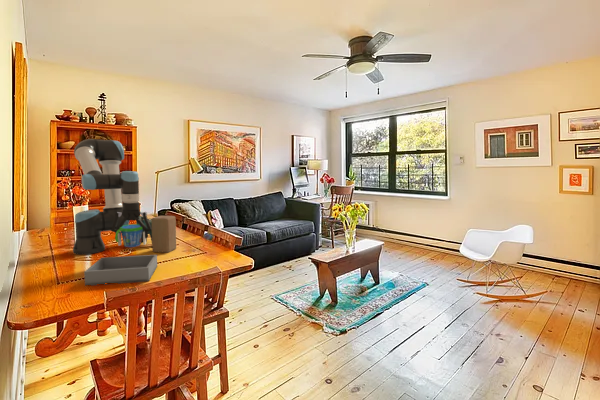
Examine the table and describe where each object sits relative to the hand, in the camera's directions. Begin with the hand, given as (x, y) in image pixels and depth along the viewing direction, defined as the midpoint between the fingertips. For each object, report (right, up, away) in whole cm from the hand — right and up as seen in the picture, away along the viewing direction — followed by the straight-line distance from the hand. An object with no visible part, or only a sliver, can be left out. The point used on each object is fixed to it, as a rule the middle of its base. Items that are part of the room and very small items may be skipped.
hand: (132, 244), depth 158 cm
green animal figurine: (-10, -5, +38) cm, 40 cm away
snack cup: (0, -1, 0) cm, 1 cm away
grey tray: (+6, -11, -18) cm, 22 cm away
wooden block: (+6, -7, +23) cm, 25 cm away
